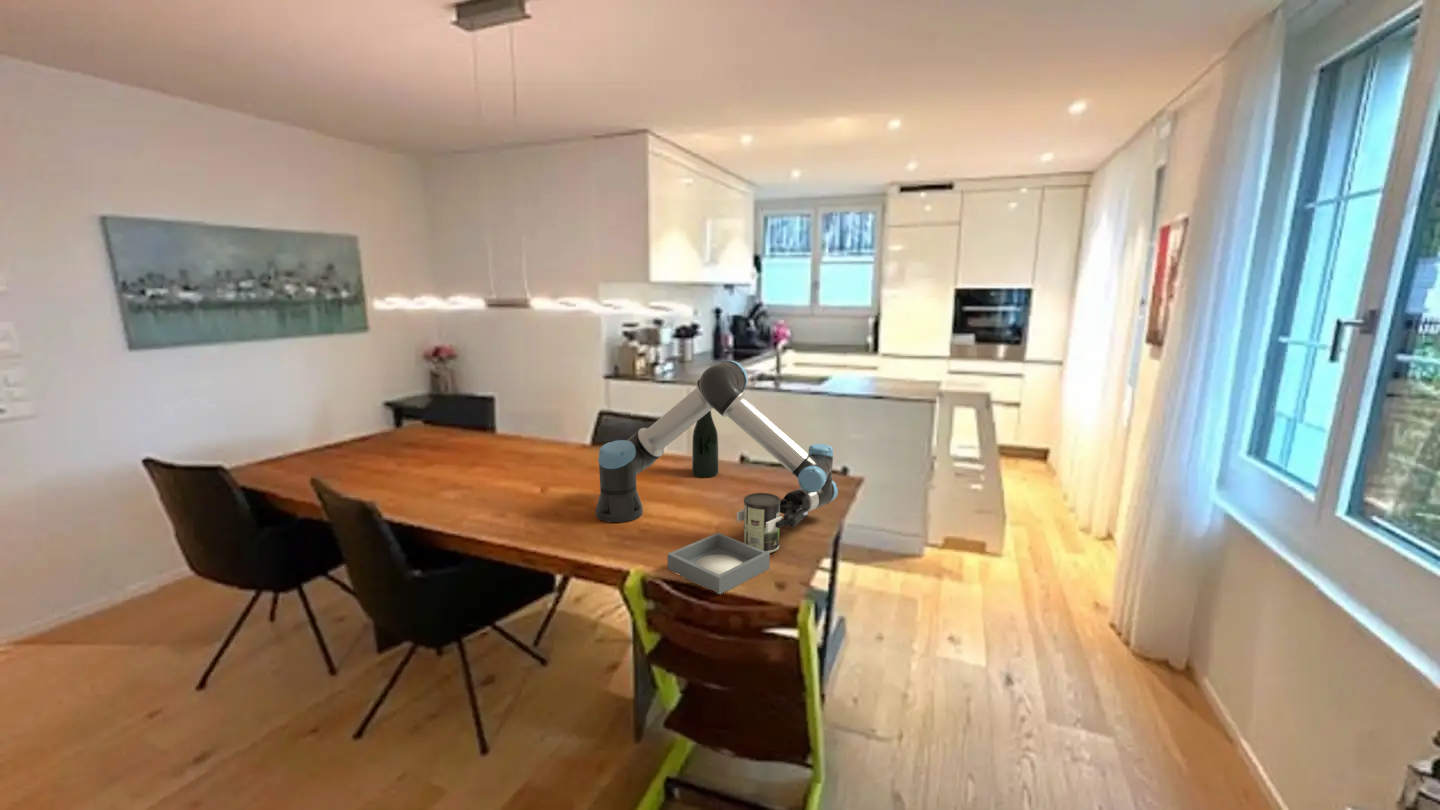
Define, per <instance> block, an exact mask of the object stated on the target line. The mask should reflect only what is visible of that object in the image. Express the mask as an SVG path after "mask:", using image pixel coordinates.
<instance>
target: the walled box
mask: <svg viewBox="0 0 1440 810" xmlns="http://www.w3.org/2000/svg"><path fill="white" fill-rule="evenodd" d="M770 554H771V553H768V552H766V551H763V550H761V549H758V548H756V547H753V546H751V545H748V544H746V543H744V541H741V540H738V539H735V538H733V537H731V536H727V535H725V534H723V533H721V532H717V533H716V532H715V533H714V534H711V535H709V536H707V537H704V538H702V539H700V540H697V541H695V542H692V543H689V544H687V545H685V546H683V547H681V548H678V549H676V550H673V551H672V552H668V553H667V570H668V569H669V570H671V571H673V572H675V573H678V574H680V575H681V576H680V575H679V576H680V577H682V576H683V577H682V578H684V577H685V578H684V579H686V578H687V579H686V580H688V579H689V580H688V581H690V580H691V581H690V582H692V581H693V582H692V583H694V582H695V583H694V584H696V583H697V584H696V585H698V584H699V585H698V586H700V585H701V587H702V586H704V587H706V588H709V589H711V590H713V591H715V592H716V593H717V594H716V593H715V594H716V595H718V594H720V595H722V594H724V593H726V592H728V591H729V590H732V589H734V588H735V587H737V586H739V585H742V584H743V583H746V582H747V581H749V580H751V579H753V578H755V577H756V576H759V575H760V574H762V573H764V572H765V571H767V570H770V564H771V563H770V558H771V557H770V556H771V555H770ZM669 570H668V571H669ZM671 571H670V572H671ZM673 572H672V573H673ZM675 573H674V574H675ZM704 587H703V588H704ZM706 588H705V589H706ZM727 590H728V591H727ZM725 591H726V592H725ZM723 592H724V593H723ZM721 593H722V594H721Z"/></svg>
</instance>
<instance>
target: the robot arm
mask: <svg viewBox="0 0 1440 810" xmlns="http://www.w3.org/2000/svg"><path fill="white" fill-rule="evenodd" d="M748 378H749V377H748V373H747V370H746V369H745V368H744V366H743V364H740V363H739V362H737V361H736V360H723V361H720V362H719V363H716V364H715V365H711V366H709V367H708V368H706V369H705V370H704V371H703V372H702V374H701V376H700V378H699V379H698V380H697V381H696V388H694V389H693V390H692V391H691V392H690V393H688V394H687V395H686V396H685V397H684V398H683V399H682V400H680V401H679V402H678V403H676V404H675V405H674V406H673V407H672V408H670V409H669V410H668V411H666V413H665V414H663V415H662V416H661V417H659V418H658V419H657V420H656V421H655V422H654V423H653V424H652V425H650V426H649V427H647V428H646V427H641V428H640V429H638V430H637V431H636V432H635V433H634V434H632V435H631V436H630V437H629V438H628V439H625V440H624V439H619V440H613V441H609V442H606V443H605V444H603V445H602V446H601V447H600V448H599V451H598V458H597V459H598V460H597V461H598V462H597V463H598V469H599V471H598V472H599V488H600V490H599V491H600V492H599V495H598V500H597V503H596V506H595V516H597V517H596V518H597V519H598V518H599V519H601V520H604V521H603V522H605V521H609V522H608V523H612V522H619V523H626V522H625V521H627V522H631V521H634V520H636V519H639V518H640V517H641V516H642V515H643V513H644V512H643V509H644V508H643V504H642V500H641V499H640V495H639V493H638V491H637V489H638V488H637V475H638V474H640V473H641V472H643V471H644V470H646V469H647V468H649V467H651V466H653V464H655V462H656V461H657V460H658V459H660V457H662V456H663V455H664V453H665V448H666V447H667V446H669V445H670V444H671V443H672V442H673V441H674V440H676V439H678V437H680V436H681V435H682V434H683V433H685V432H686V431H687V430H688V429H690V428H691V427H693V425H694V424H696V423H697V421H698V420H699V419H701V418H702V417H703V416H704V415H705V414H707V413H708V412H709V411H710V410H711V411H712V410H713V409H714V410H715V411H716V412H717V413H718V414H719V415H721V416H722V417H727V418H729V419H731V421H733V423H735V424H736V425H737V426H738V427H739V428H741V430H743V431H744V432H745V433H746V434H748V436H750V437H751V438H752V439H753V440H754V441H755V442H756V443H757V444H759V446H761V447H762V449H764V450H765V451H766V452H768V454H770V455H771V456H772V457H773V458H774V459H775V460H777V461H778V463H780V464H781V465H782V466H783V467H784V468H785V469H787V470H788V471H789V472H790V473H791V474H792V475H794V477H795V478H797V481H798V484H799V487H800V488H797V489H795V490H793V491H790V492H788V493H786V494H785V495H784V497H783V498H780V499H781V502H780V514H783V516H782V515H780V517H778V518H775V519H773V520H771V521H768V522H766V532H767V533H768V532H770V531H773V530H775V529H777V528H782V527H788V526H789V527H791V528H795V527H796V526H797V525H798V524H799V523H800V522H801V521H802V520H804V519H805V518H807V517H808V513H809V512H811V511H813V510H815V509H818V508H821V507H822V506H825V505H827V504H828V505H829V504H830V503H831V502H832V501H834V500H835V499H836V498H837V497H838V494H839V490H838V489H839V488H838V486H837V483H836V482H835V481H834V480H833V477H832V476H833V465H834V464H833V462H834V461H833V460H834V448H833V447H832V446H831V445H830V444H826V443H813V444H810V445H809V446H808V451H806V450H805V449H804V448H803V447H802V446H801V445H799V444H798V443H797V442H796V441H795V440H794V439H793V438H791V436H790V435H788V434H787V433H786V432H785V431H784V430H782V429H781V428H780V427H779V426H778V425H777V424H776V423H775V422H774V421H772V419H770V418H769V417H768V416H766V415H765V414H764V412H762V411H761V410H760V409H758V408H757V407H756V406H755V405H754V404H753V403H752V402H751V401H749V399H747V397H746V396H745V389H746V387H747V385H748V380H749V379H748ZM599 519H598V520H599ZM601 520H600V521H601ZM630 520H631V521H630ZM742 521H744V509H742V510H739V511H737V512H736V522H739V523H740V522H742Z"/></svg>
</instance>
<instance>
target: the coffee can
mask: <svg viewBox="0 0 1440 810" xmlns="http://www.w3.org/2000/svg"><path fill="white" fill-rule="evenodd" d="M743 497H744V498H743V506H744V507H743V508H744V520H743V543H746V544H748V545H751V546H753V547H756V548H758V549H761V550H763V551H766V552H768V553H770V554H771V553H775V552H777V551H778V550H779V549H780V531H781V530H780V528H781V527H780V528H777V529H775V530H773V531H770V532H768V533H767V532H766V522H768V521H771V520H773V519H775V518H778V517H780V516H781V513H780V502H781V499H782V498H780V497H779V496H777V495H776V494H772V493H766V492H758V493H757V492H755V493H750V494H748V495H746V496H743Z"/></svg>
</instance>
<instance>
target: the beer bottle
mask: <svg viewBox="0 0 1440 810" xmlns="http://www.w3.org/2000/svg"><path fill="white" fill-rule="evenodd" d="M718 437H719V435H718V431H717V427H716V425H715V422H714V419H713V416H712V410H710V411H709V412H708V413H707V414H705V415H704V416H703V417H702V418H701V419H699V420H698V421H697V422H696V423H695V426H694V428H693V432H692V443H691V445H692V446H691V447H692V449H691V451H692V452H691V454H692V455H691V466H692V467H691V470H692V472H691V473H692V475H694V476H695V477H697V476H698V478H704V477H707V478H713V477H716V476H718V474H719V473H720V471H719V467H720V466H719V465H720V464H719V463H720V462H719V456H720V455H719V438H718Z"/></svg>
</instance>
